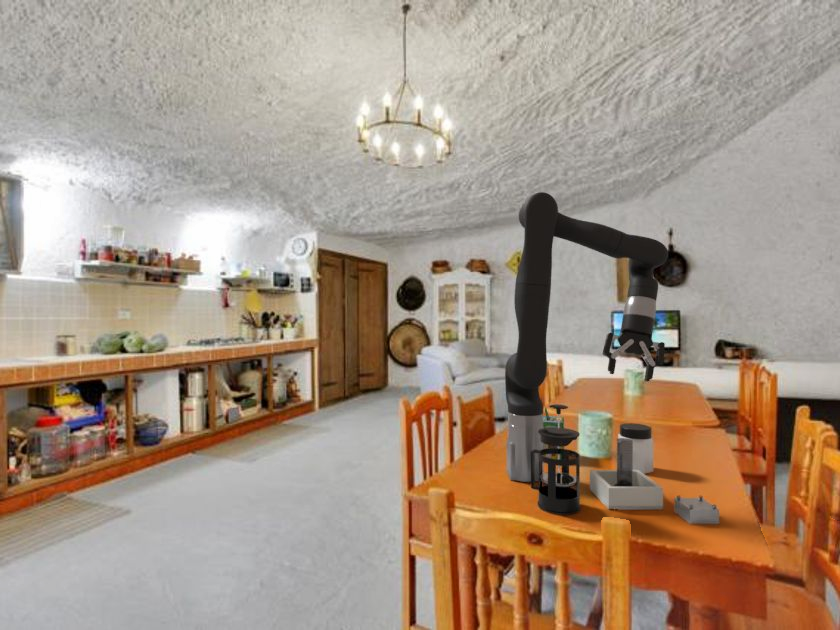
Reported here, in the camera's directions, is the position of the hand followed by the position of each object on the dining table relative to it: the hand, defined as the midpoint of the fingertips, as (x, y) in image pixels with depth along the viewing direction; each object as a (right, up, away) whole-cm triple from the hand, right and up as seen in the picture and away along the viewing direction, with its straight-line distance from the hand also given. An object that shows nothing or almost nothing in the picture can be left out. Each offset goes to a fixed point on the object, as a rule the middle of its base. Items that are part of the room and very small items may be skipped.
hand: (629, 377), depth 119 cm
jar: (+7, -27, +11) cm, 30 cm away
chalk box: (-14, -28, +23) cm, 39 cm away
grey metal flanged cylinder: (-5, -26, -10) cm, 29 cm away
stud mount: (+5, -27, -20) cm, 34 cm away
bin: (-6, -27, -10) cm, 30 cm away
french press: (-23, -28, -14) cm, 38 cm away
